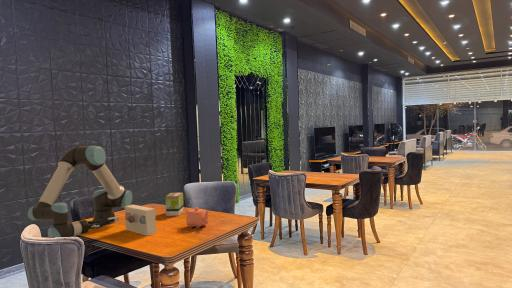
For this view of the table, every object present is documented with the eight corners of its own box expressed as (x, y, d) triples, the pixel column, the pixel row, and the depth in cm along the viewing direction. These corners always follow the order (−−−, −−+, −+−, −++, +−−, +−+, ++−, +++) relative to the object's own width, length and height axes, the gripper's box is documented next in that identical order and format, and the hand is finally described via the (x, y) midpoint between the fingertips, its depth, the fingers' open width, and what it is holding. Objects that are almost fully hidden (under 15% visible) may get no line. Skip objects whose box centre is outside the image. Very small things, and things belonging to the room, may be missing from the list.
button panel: (125, 229, 229) (124, 206, 228) (134, 227, 234) (133, 204, 233) (147, 235, 214) (146, 210, 213) (156, 233, 218) (154, 208, 218)
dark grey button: (139, 223, 217) (139, 216, 216) (142, 222, 218) (141, 215, 218) (143, 224, 214) (143, 217, 214) (146, 223, 215) (145, 216, 215)
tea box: (179, 215, 261) (178, 195, 260) (165, 216, 261) (164, 196, 261) (184, 211, 276) (183, 191, 275) (171, 211, 276) (170, 192, 276)
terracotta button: (125, 219, 227) (125, 212, 227) (127, 219, 228) (127, 212, 228) (129, 220, 224) (128, 213, 224) (131, 220, 225) (131, 213, 225)
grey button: (128, 222, 220) (128, 215, 219) (131, 221, 221) (130, 214, 221) (132, 223, 217) (132, 216, 217) (135, 222, 218) (134, 215, 218)
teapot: (180, 227, 230) (179, 208, 229) (192, 222, 240) (191, 204, 239) (204, 230, 219) (203, 211, 219) (216, 225, 229) (215, 207, 229)
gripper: (74, 232, 206) (113, 223, 225) (85, 236, 198) (124, 226, 216) (73, 219, 206) (112, 211, 224) (84, 222, 198) (123, 213, 216)
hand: (118, 218), depth 220 cm, fingers closed
